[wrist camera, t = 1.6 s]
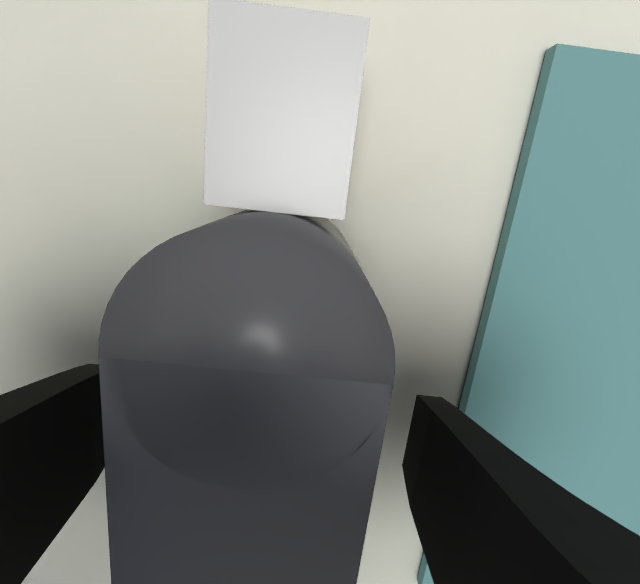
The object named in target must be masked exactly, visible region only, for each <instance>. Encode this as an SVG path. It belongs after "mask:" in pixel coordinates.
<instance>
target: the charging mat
mask: <svg viewBox="0 0 640 584" xmlns="http://www.w3.org/2000/svg"><path fill="white" fill-rule="evenodd" d="M459 410H460V411H462V412H463V413H464V414H466V415H467V416H468V417H469V418H471V419H472V420H473V421H474V422H476V423H477V424H478V425H480V426H481V427H482V428H483V429H485V430H486V431H487V432H488V433H490V434H491V435H492V436H494V437H495V438H496V439H497V440H499V441H500V442H501V443H503V444H504V445H505V446H506V447H508V448H509V449H510V450H512V451H513V452H514V453H516V454H517V455H518V456H520V457H521V458H522V459H524V460H525V461H526V462H528V463H529V464H531V465H532V466H533V467H535V468H536V469H537V470H539V471H540V472H542V473H543V474H545V475H546V476H547V477H549V478H550V479H552V480H553V481H555V482H556V483H557V484H559V485H560V486H562V487H563V488H565V489H566V490H567V491H569V492H570V493H572V494H574V495H575V496H577V497H578V498H580V499H581V500H583V501H584V502H586V503H587V504H589V505H590V506H592V507H594V508H595V509H597V510H599V511H600V512H602V513H603V514H605V515H607V516H608V517H610V518H611V519H613V520H615V521H616V522H618V523H619V524H621V525H623V526H624V527H626V528H627V529H629V530H631V531H633V532H634V533H636V534H638V535H639V536H640V55H637V54H630V53H623V52H615V51H608V50H601V49H593V48H586V47H578V46H571V45H564V44H556V45H554V46H552V47H551V48H549V49H547V50H546V53H545V57H544V61H543V66H542V70H541V74H540V78H539V82H538V86H537V90H536V94H535V98H534V102H533V106H532V111H531V115H530V119H529V123H528V127H527V131H526V135H525V139H524V143H523V147H522V152H521V156H520V160H519V164H518V168H517V172H516V176H515V180H514V184H513V188H512V192H511V197H510V201H509V205H508V209H507V213H506V217H505V221H504V225H503V229H502V233H501V238H500V242H499V246H498V250H497V254H496V258H495V262H494V266H493V270H492V274H491V278H490V283H489V287H488V291H487V295H486V299H485V303H484V307H483V311H482V315H481V319H480V324H479V328H478V332H477V336H476V340H475V344H474V348H473V352H472V356H471V360H470V364H469V369H468V373H467V377H466V381H465V385H464V389H463V393H462V397H461V401H460V405H459ZM417 581H418V584H434V583H433V580H432V576H431V573H430V570H429V567H428V564H427V561H426V557H425V554H424V553H423V557H422V561H421V565H420V569H419V573H418V577H417Z"/></svg>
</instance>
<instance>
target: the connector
mask: <svg viewBox="0 0 640 584" xmlns="http://www.w3.org/2000/svg"><path fill="white" fill-rule="evenodd" d="M369 23H370V18H366V17H359V16H352V15H344V14H337V13H329V12H322V11H315V10H307V9H300V8H292V7H285V6H278V5H270V4H263V3H256V2H248V1H241V0H209V6H208V46H207V85H206V125H205V165H204V204H205V205H214V206H223V207H232V208H241V209H247V210H245V211H242V212H239V213H236V214H234V215H231V216H228V217H226V218H223V219H220V220H218V221H215V222H212V223H209V224H207V225H204V226H201V227H199V228H196V229H193V230H190V231H188V232H185V233H183V234H180V235H177V236H175V237H173V238H171V239H169V240H167V241H165V242H164V243H162V244H160V245H158V246H156V247H155V248H154V249H153V250H151V251H150V252H149V253H147V254H146V255H145V256H143V257H142V258H141V259H140V260H139V261H138V262H137V263H136V264H135V265H134V266H133V267H132V268H131V269H130V270H129V271H128V272H127V273H126V275H125V276H124V277H123V279H122V280H121V282H120V283H119V284H118V286H117V287H116V289H115V291H114V293H113V295H112V297H111V299H110V301H109V303H108V305H107V308H106V311H105V314H104V317H103V320H102V324H101V330H100V336H99V372H100V390H101V408H102V426H103V443H104V461H105V479H106V497H107V514H108V532H109V550H110V568H111V584H356V583H357V577H358V572H359V566H360V561H361V556H362V550H363V545H364V540H365V534H366V529H367V523H368V518H369V513H370V507H371V502H372V496H373V491H374V486H375V480H376V475H377V469H378V464H379V459H380V453H381V448H382V442H383V437H384V432H385V426H386V421H387V415H388V410H389V405H390V399H391V394H392V388H393V382H394V373H395V351H394V345H393V339H392V334H391V330H390V327H389V324H388V321H387V318H386V315H385V313H384V311H383V309H382V307H381V305H380V303H379V301H378V299H377V297H376V295H375V293H374V292H373V290H372V288H371V286H370V284H369V282H368V280H367V279H366V277H365V275H364V273H363V271H362V269H361V267H360V266H359V264H358V262H357V260H356V258H355V256H354V254H353V253H352V251H351V249H350V247H349V245H348V243H347V241H346V240H345V238H344V237H343V236H342V234H341V233H340V232H339V230H338V229H337V228H336V227H335V226H334V225H333V224H332V223H331V222H329V221H328V220H327V219H326V218H330V219H339V220H344V219H345V211H346V203H347V195H348V187H349V180H350V172H351V164H352V156H353V148H354V140H355V133H356V125H357V117H358V109H359V101H360V93H361V86H362V78H363V70H364V62H365V54H366V46H367V39H368V31H369Z"/></svg>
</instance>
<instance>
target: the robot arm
mask: <svg viewBox="0 0 640 584" xmlns="http://www.w3.org/2000/svg"><path fill="white" fill-rule="evenodd" d="M402 466H403V472H404V478H405V484H406V489H407V495H408V500H409V505H410V509H411V512H412V515H413V519H414V522H415V525H416V529H417V532H418V535H419V538H420V542H421V545H422V548H423V551H424V554H425V557H426V561H427V564H428V567H429V570H430V573H431V576H432V580H433V583H434V584H640V536H639V535H638V534H636V533H634V532H633V531H631V530H629V529H627V528H626V527H624V526H623V525H621V524H619V523H618V522H616V521H615V520H613V519H611V518H610V517H608V516H607V515H605V514H603V513H602V512H600V511H599V510H597V509H595V508H594V507H592V506H590V505H589V504H587V503H586V502H584V501H583V500H581V499H580V498H578V497H577V496H575V495H574V494H572V493H570V492H569V491H567V490H566V489H565V488H563V487H562V486H560V485H559V484H557V483H556V482H555V481H553V480H552V479H550V478H549V477H547V476H546V475H545V474H543V473H542V472H540V471H539V470H537V469H536V468H535V467H533V466H532V465H531V464H529V463H528V462H526V461H525V460H524V459H522V458H521V457H520V456H518V455H517V454H516V453H514V452H513V451H512V450H510V449H509V448H508V447H506V446H505V445H504V444H503V443H501V442H500V441H499V440H497V439H496V438H495V437H494V436H492V435H491V434H490V433H488V432H487V431H486V430H485V429H483V428H482V427H481V426H480V425H478V424H477V423H476V422H474V421H473V420H472V419H471V418H469V417H468V416H467V415H466V414H464V413H463V412H462V411H460V410H459V409H458V408H456V407H455V406H454V405H452V404H451V403H450V402H448V401H447V400H445V399H444V398H442V397H434V396H423V395H417V396H416V401H415V406H414V411H413V416H412V421H411V425H410V430H409V435H408V440H407V445H406V449H405V454H404V459H403V464H402ZM104 467H105V461H104V443H103V426H102V408H101V390H100V372H99V365H97V364H87V365H83V366H79V367H76V368H73V369H70V370H67V371H64V372H61V373H58V374H56V375H53V376H50V377H47V378H45V379H42V380H39V381H37V382H34V383H31V384H29V385H26V386H23V387H21V388H18V389H16V390H13V391H10V392H8V393H5V394H2V395H0V584H21V583H22V581H23V580H24V579H25V577H26V576H27V575H28V573H29V572H30V571H31V569H32V568H33V566H34V565H35V564H36V562H37V561H38V560H39V558H40V557H41V556H42V554H43V553H44V552H45V550H46V549H47V548H48V546H49V545H50V544H51V542H52V541H53V539H54V538H55V537H56V535H57V534H58V533H59V531H60V530H61V529H62V527H63V526H64V525H65V523H66V522H67V521H68V519H69V518H70V517H71V515H72V514H73V512H74V511H75V510H76V508H77V507H78V506H79V504H80V503H81V501H82V500H83V499H84V497H85V496H86V495H87V493H88V492H89V490H90V489H91V488H92V486H93V485H94V483H95V482H96V480H97V479H98V477H99V475H100V474H101V472H102V470H103V468H104Z"/></svg>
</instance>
